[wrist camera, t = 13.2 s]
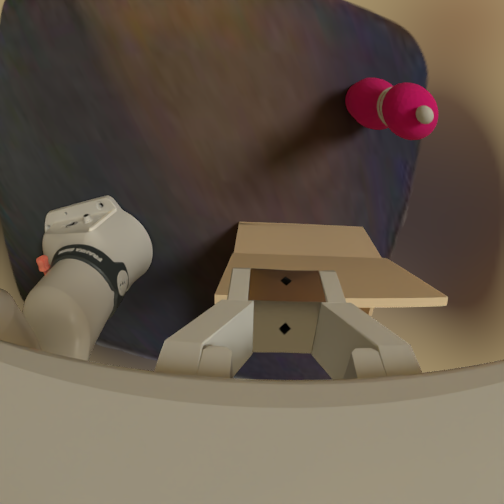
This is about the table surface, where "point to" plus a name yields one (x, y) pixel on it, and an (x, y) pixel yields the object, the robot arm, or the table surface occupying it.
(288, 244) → the carton
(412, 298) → the carton lid
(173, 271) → the table surface
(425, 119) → the pepper mill
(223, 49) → the table surface
